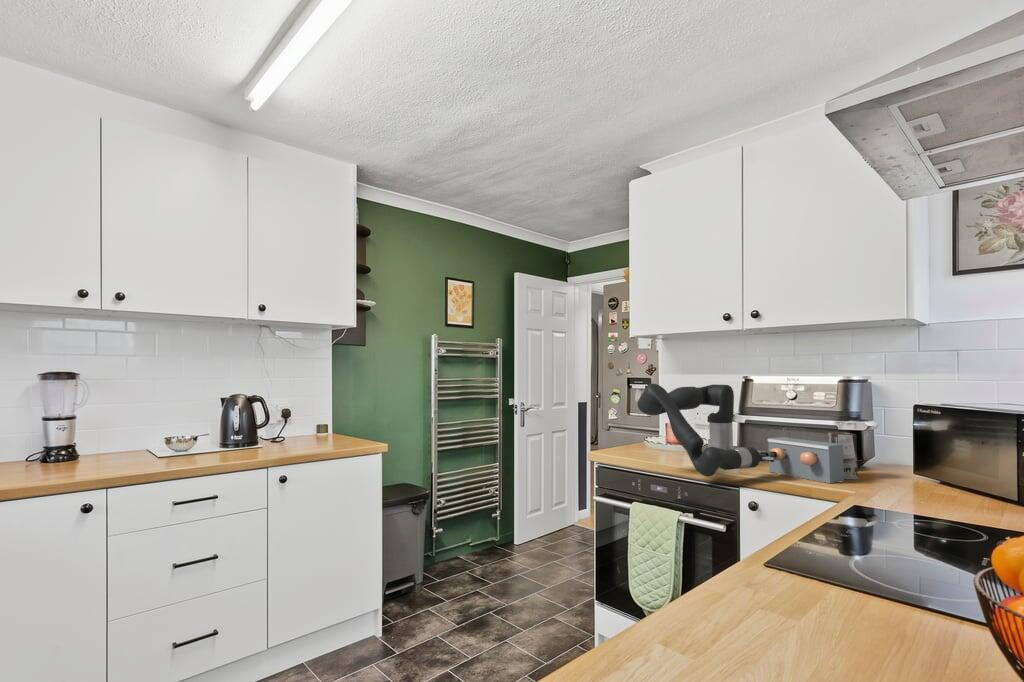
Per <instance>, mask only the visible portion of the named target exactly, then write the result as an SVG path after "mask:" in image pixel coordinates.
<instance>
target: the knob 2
mask: <svg viewBox="0 0 1024 682" xmlns="http://www.w3.org/2000/svg"><path fill="white" fill-rule="evenodd" d="M800 460H801V462H802V463H803V464H804V465H813V464H815V463H816V462H817V455H815V454H814V453H813V452H806V453H802V454H801V455H800Z"/></svg>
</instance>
